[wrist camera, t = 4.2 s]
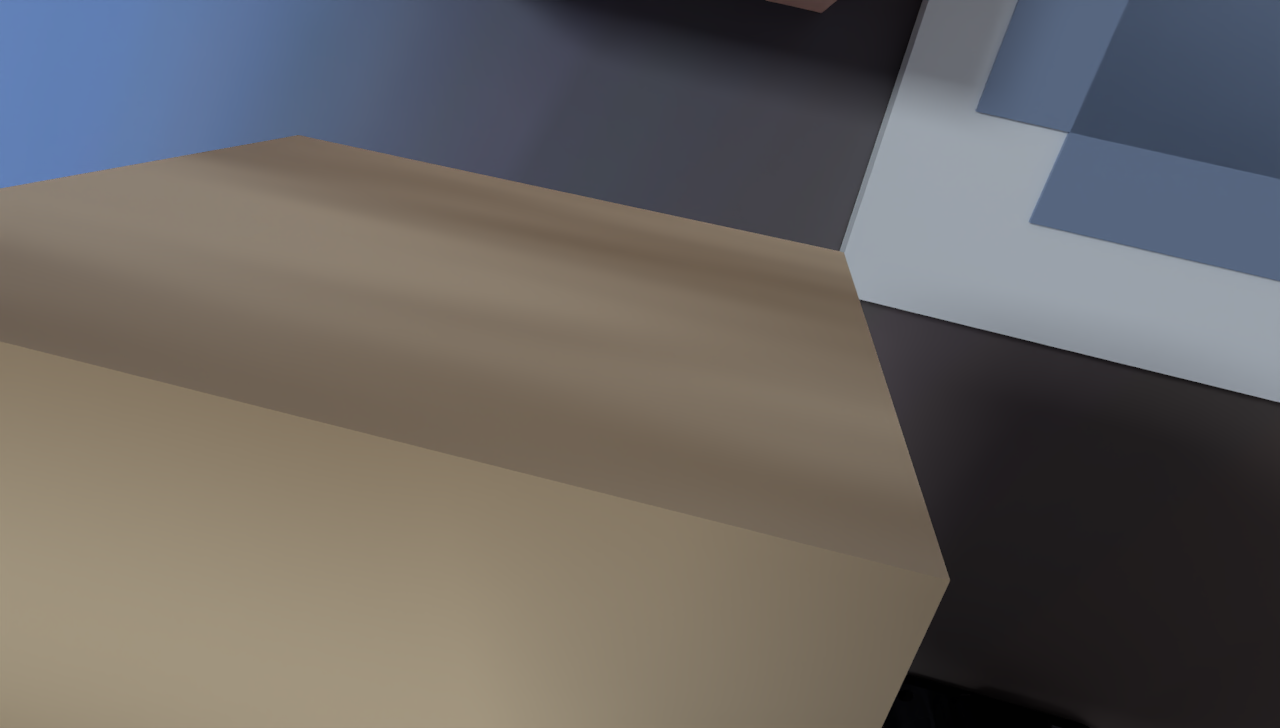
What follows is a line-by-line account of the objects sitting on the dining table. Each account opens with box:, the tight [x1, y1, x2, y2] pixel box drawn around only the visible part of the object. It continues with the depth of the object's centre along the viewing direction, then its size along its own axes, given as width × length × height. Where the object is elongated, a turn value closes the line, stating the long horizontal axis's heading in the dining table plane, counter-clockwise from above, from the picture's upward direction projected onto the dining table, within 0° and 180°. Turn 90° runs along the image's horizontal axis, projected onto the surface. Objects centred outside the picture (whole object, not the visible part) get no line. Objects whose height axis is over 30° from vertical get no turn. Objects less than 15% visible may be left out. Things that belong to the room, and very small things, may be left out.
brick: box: [0, 135, 950, 728], centre depth 7 cm, size 10×6×5 cm, turn 170°
